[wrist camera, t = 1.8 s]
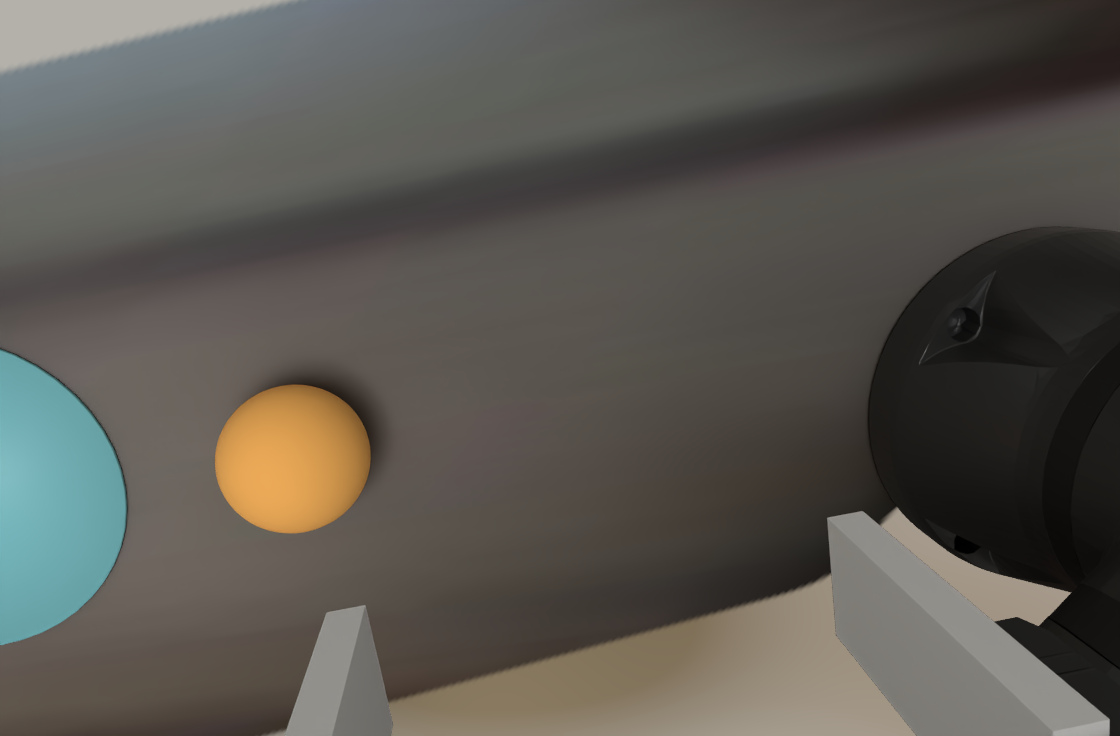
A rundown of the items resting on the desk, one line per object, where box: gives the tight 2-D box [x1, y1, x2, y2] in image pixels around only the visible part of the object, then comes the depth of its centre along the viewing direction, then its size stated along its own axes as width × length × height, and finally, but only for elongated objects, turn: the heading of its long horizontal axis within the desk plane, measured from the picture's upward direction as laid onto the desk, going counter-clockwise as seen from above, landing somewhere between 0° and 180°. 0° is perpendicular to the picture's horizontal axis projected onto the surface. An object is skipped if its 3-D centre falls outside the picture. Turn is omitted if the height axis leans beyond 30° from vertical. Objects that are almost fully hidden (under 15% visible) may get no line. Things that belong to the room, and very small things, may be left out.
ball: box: [215, 385, 371, 533], centre depth 30 cm, size 6×6×6 cm
